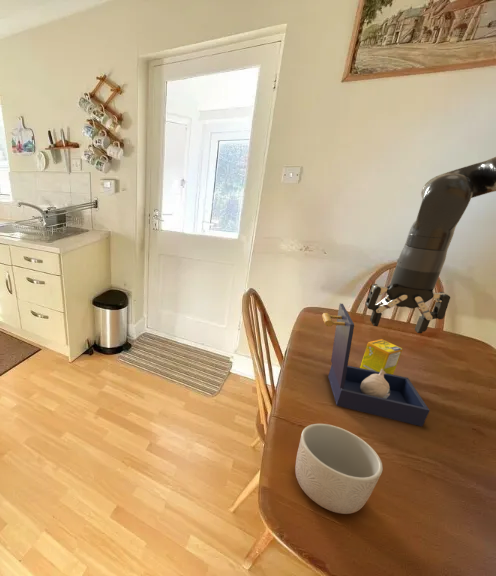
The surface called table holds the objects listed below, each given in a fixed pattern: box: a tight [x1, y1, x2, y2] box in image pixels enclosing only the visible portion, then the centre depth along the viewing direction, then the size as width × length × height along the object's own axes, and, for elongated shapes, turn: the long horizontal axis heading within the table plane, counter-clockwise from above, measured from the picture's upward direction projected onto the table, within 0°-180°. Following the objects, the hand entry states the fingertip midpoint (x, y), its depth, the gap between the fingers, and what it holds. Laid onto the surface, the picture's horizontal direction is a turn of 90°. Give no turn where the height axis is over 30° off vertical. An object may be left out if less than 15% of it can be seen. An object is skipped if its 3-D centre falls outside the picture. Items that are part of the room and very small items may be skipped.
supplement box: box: [359, 338, 403, 375], centre depth 93 cm, size 6×6×11 cm
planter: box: [294, 423, 383, 515], centre depth 60 cm, size 12×12×11 cm
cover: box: [321, 303, 355, 389], centre depth 85 cm, size 18×14×5 cm
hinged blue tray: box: [327, 364, 431, 427], centre depth 84 cm, size 18×14×5 cm
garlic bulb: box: [360, 369, 390, 399], centre depth 83 cm, size 7×6×8 cm
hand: (395, 328), depth 77 cm, fingers open, 8 cm apart
